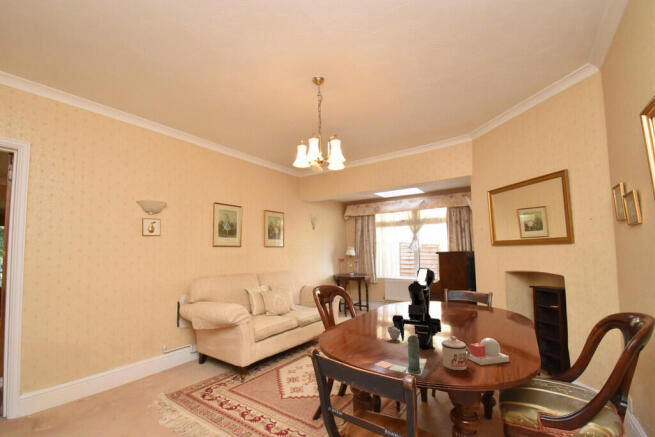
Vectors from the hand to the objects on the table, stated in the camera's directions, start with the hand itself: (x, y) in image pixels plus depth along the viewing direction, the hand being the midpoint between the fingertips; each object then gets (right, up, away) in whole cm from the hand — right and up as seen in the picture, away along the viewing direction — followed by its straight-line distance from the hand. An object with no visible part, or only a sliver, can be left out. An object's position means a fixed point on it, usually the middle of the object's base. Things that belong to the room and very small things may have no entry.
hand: (414, 342), depth 116 cm
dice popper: (+33, -11, +10) cm, 37 cm away
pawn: (-1, -9, -4) cm, 10 cm away
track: (-2, -11, +1) cm, 11 cm away
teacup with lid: (+18, -11, +2) cm, 21 cm away
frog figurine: (+1, -15, +39) cm, 42 cm away
